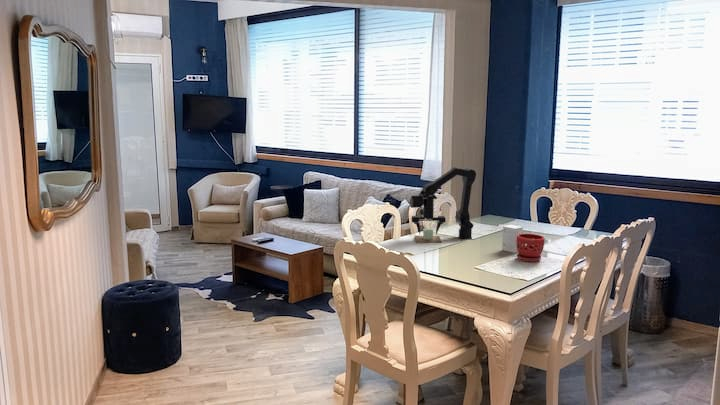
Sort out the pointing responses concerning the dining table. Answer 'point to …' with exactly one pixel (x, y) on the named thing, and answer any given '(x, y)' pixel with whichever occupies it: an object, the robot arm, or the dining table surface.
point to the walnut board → (435, 239)
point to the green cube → (428, 233)
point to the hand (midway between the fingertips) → (428, 234)
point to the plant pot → (530, 247)
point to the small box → (510, 238)
